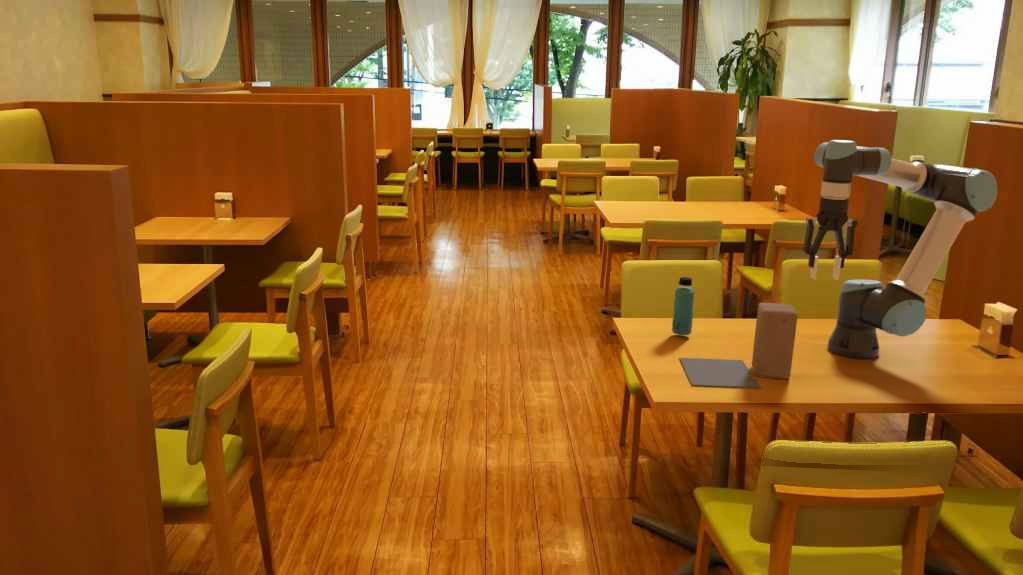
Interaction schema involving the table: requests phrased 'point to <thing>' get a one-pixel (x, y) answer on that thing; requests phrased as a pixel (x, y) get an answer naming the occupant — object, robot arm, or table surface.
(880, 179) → the robot arm
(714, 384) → the mat
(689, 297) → the beverage bottle
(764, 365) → the wooden block
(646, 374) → the table surface
